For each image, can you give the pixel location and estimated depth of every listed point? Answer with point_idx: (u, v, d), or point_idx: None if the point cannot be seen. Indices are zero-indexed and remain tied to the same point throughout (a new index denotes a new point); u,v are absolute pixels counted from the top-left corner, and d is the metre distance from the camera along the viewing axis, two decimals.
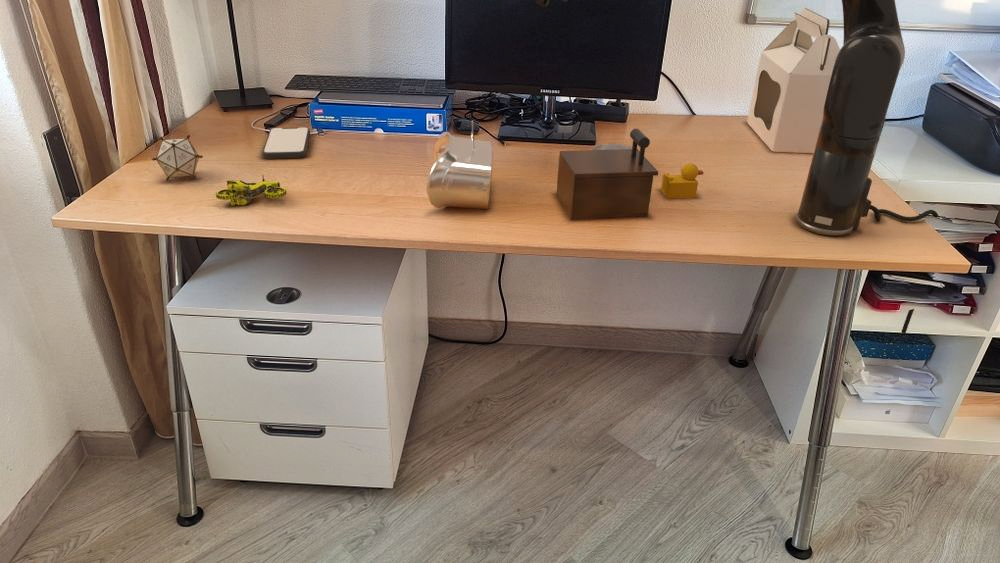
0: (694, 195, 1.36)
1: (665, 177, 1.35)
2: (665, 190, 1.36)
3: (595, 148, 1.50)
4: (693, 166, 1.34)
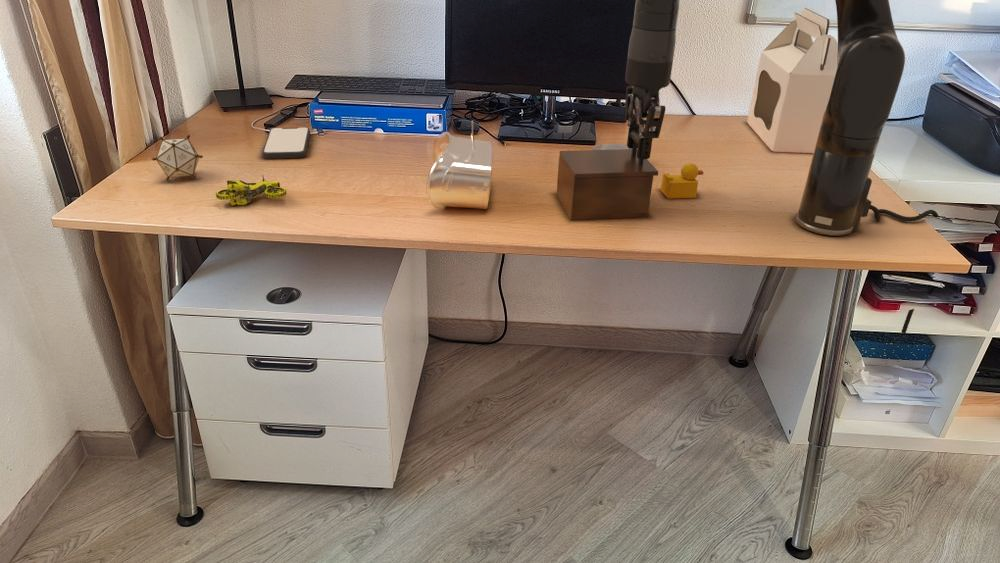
0: (694, 195, 1.36)
1: (665, 177, 1.35)
2: (665, 190, 1.36)
3: (595, 148, 1.50)
4: (693, 166, 1.34)
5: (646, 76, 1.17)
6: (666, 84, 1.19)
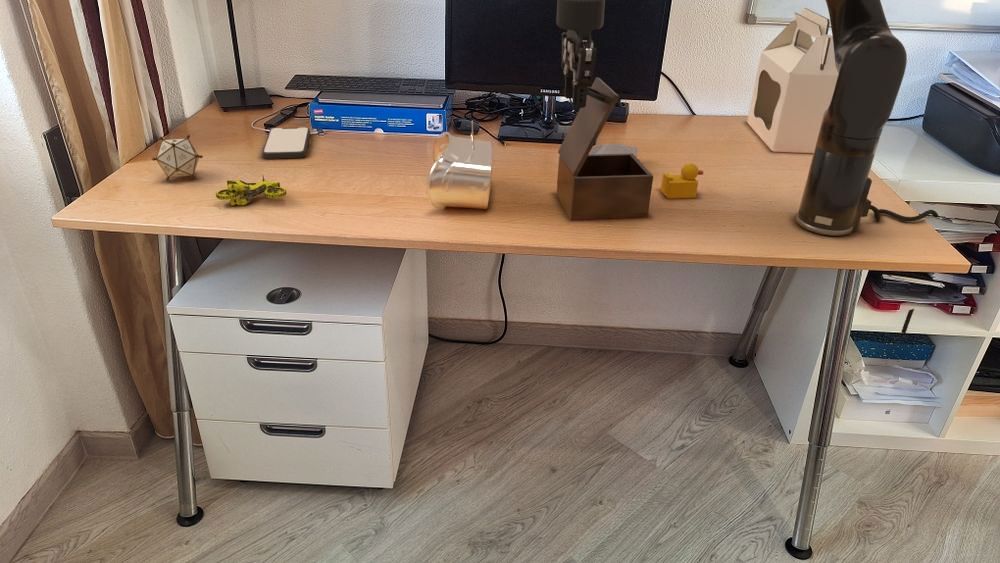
0: (694, 195, 1.36)
1: (665, 177, 1.35)
2: (665, 190, 1.36)
3: (595, 148, 1.50)
4: (693, 166, 1.34)
5: (576, 16, 1.11)
6: (598, 25, 1.12)
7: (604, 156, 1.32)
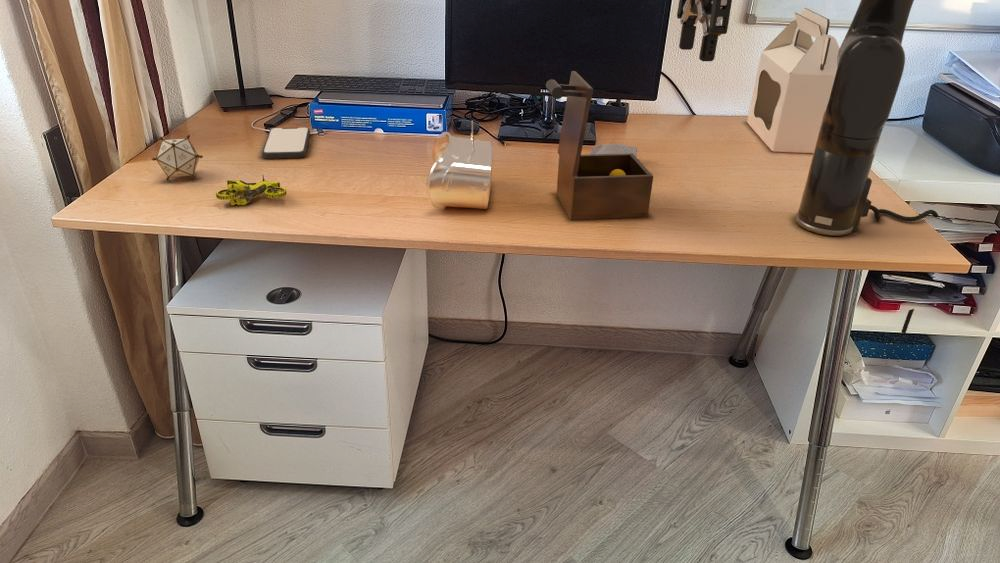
0: None
1: None
2: None
3: (595, 148, 1.50)
4: (620, 172, 1.28)
5: None
6: None
7: (604, 156, 1.32)
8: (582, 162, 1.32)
